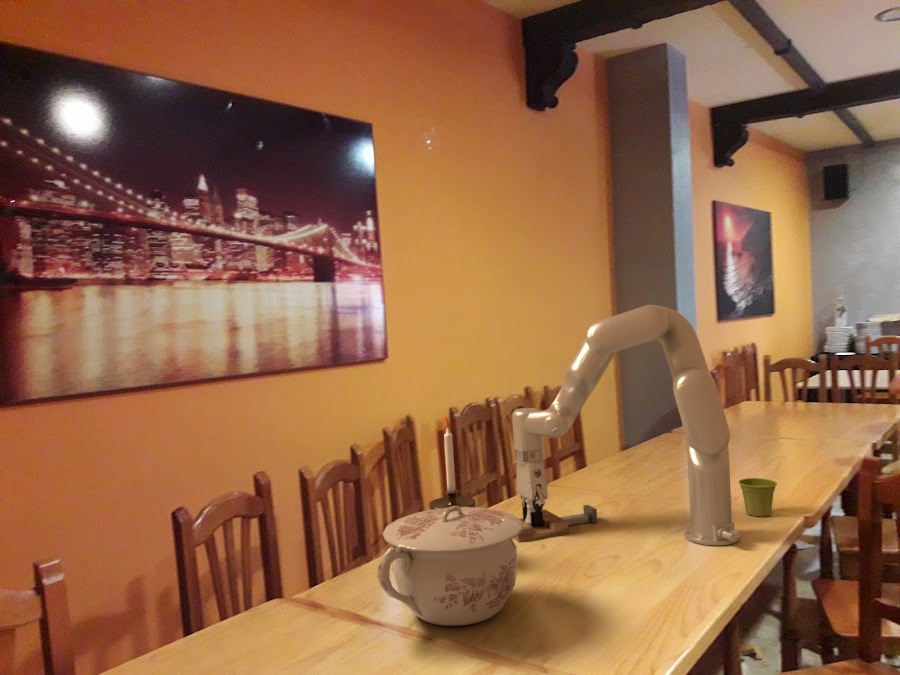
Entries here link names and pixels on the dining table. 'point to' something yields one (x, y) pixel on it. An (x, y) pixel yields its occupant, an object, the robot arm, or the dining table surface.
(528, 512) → the rook chess piece
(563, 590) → the dining table surface
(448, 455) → the candlestick
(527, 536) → the mount
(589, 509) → the lock pin
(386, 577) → the chamber pot
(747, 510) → the plant pot
